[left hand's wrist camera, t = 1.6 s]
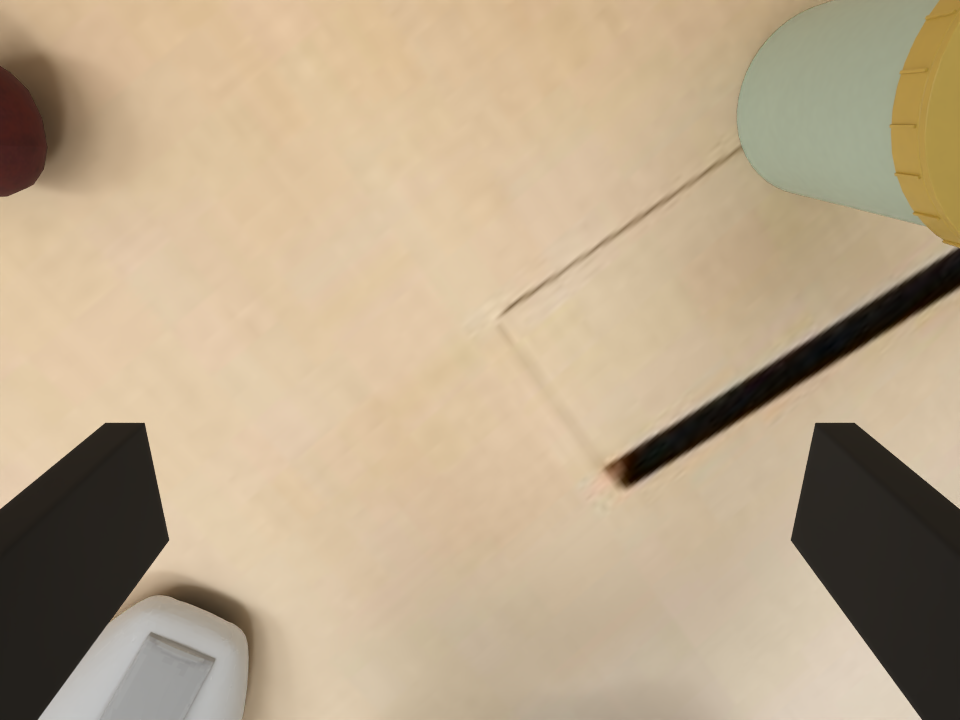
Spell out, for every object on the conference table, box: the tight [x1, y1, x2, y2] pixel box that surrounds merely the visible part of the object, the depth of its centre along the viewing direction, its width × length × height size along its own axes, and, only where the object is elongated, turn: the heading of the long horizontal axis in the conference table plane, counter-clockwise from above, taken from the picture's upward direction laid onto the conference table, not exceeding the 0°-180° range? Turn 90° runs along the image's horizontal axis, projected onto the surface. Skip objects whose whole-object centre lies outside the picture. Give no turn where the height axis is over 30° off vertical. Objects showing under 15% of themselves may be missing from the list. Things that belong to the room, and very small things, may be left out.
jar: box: [737, 0, 939, 226], centre depth 28 cm, size 10×10×17 cm
